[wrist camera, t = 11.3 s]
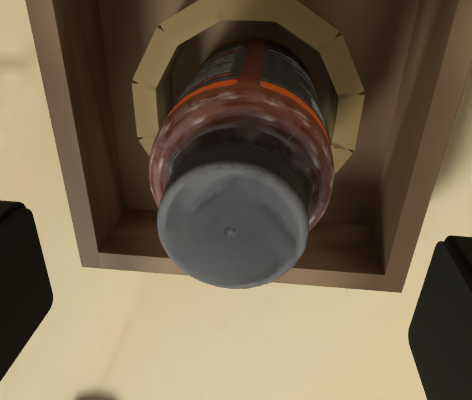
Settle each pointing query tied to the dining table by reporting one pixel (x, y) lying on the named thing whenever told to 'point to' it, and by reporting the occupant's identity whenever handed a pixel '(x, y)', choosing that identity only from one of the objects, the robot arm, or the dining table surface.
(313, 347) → the dining table surface
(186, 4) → the walled box
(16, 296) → the robot arm
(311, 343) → the dining table surface
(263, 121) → the supplement bottle
